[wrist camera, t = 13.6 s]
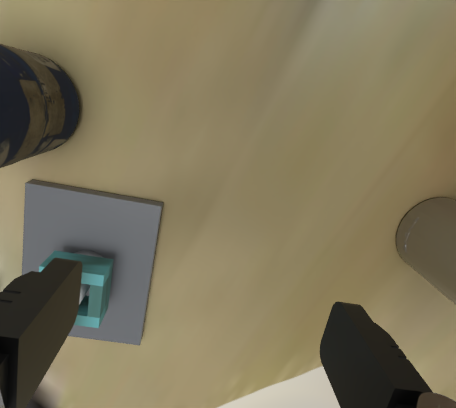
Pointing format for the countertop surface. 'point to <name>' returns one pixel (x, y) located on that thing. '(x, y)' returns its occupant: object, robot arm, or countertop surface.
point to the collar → (99, 286)
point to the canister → (33, 105)
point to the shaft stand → (97, 247)
